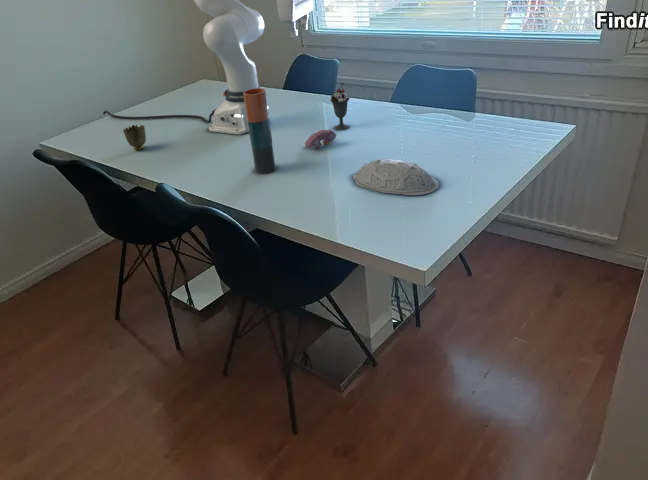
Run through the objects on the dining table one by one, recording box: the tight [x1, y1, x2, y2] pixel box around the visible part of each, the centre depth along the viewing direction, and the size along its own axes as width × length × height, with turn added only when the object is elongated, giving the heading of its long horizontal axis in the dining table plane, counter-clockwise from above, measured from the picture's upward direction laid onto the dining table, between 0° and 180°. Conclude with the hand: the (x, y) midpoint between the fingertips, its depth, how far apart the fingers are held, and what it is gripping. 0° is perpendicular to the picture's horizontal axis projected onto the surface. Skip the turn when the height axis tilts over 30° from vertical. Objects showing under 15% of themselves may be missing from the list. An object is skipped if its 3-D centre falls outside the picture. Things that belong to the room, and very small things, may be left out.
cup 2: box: [122, 124, 147, 152], centre depth 194 cm, size 8×7×8 cm
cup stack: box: [247, 117, 277, 175], centre depth 165 cm, size 6×6×16 cm
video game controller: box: [304, 128, 337, 149], centre depth 179 cm, size 10×5×7 cm, turn 117°
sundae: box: [329, 82, 350, 131], centre depth 190 cm, size 7×7×15 cm
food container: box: [352, 158, 440, 196], centre depth 152 cm, size 16×25×7 cm, turn 52°
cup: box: [243, 87, 270, 123], centre depth 159 cm, size 6×6×8 cm
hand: (299, 33), depth 163 cm, fingers open, 8 cm apart
